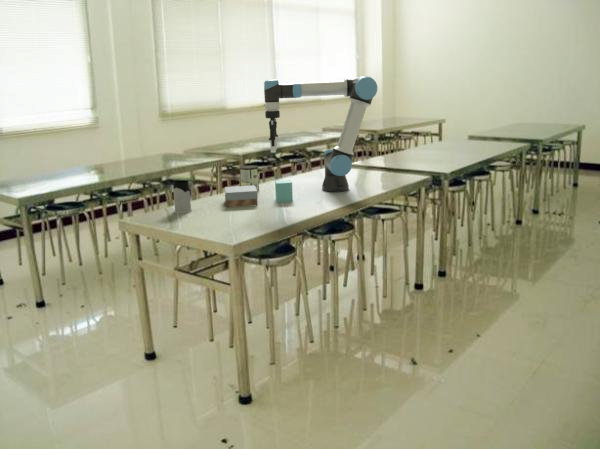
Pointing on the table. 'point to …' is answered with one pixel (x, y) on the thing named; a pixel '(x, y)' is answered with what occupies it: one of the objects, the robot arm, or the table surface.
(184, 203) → the grey black mug
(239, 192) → the grey slab
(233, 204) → the walnut slab
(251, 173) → the coffee can
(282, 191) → the teal block
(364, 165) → the table surface
